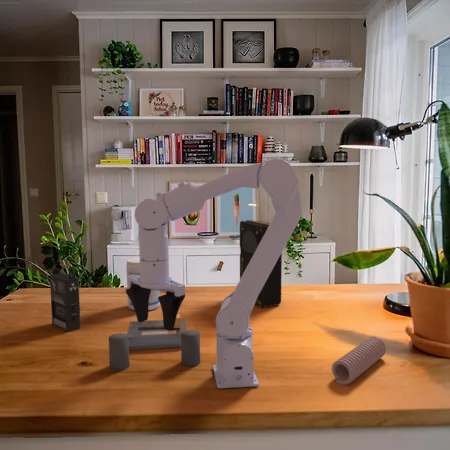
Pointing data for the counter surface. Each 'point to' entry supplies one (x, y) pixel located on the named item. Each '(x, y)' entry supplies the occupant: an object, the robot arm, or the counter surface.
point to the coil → (358, 360)
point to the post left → (118, 352)
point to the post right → (190, 348)
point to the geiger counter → (65, 300)
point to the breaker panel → (154, 335)
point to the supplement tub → (134, 269)
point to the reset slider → (177, 321)
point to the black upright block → (248, 244)
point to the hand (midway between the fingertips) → (155, 324)
